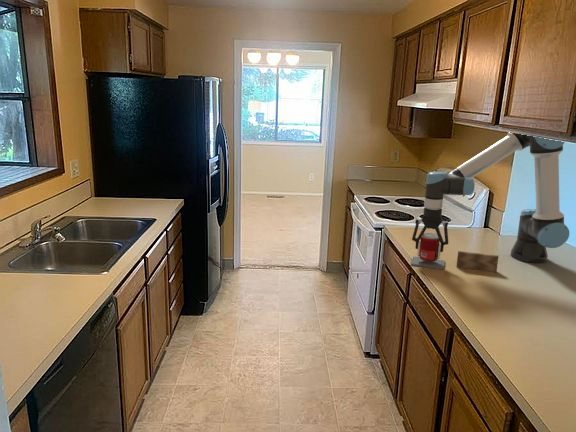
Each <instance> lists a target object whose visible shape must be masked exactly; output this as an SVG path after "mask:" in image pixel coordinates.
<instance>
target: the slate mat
mask: <svg viewBox="0 0 576 432" xmlns="http://www.w3.org/2000/svg"><path fill="white" fill-rule="evenodd" d="M445 263H446V260H442V259H439V260H438V259H437V260H436V261H424V260H422V259H420V257H417V256H413V257H412V260H411V261H410V266H414V267H421V268H429V269H437V270H444V269H445Z"/></svg>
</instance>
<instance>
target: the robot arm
mask: <svg viewBox="0 0 576 432" xmlns="http://www.w3.org/2000/svg"><path fill="white" fill-rule="evenodd" d="M506 134H507V135H506V136H505V137H503V138H502V139H500V140H498V141H497V142H495V143H494V144H492V145H490V146H489V147H488V148H486V149H485V150H483V151H481V152H480V153H478V154H477V155H475V156H473V157H472V158H470V159H469V160H467V161H465V162H463V164H461V165H459V166H458V167H455V168H454V169H453V170H451V171H446V172H443V171H429V172H428V173H427V175H426V179H425V180H426V182H425V194H424V195H425V196H424V201H423V203H424V204H423V207H424V208H423V212H422V213H423V215H422V218H416V219H415V227H414V231H413V233H412V236H411V237H412V238H411V241H413V242H415V250H417V253H416V254H417V255H416V257H419V253H420V241H421V236H422V235H423V234H424V233H426V230H428V229H430V230H431V229H432V230H435V232H436V234H437V235H438V237H439V241H440V242H439V250H438V259H437V260H441V253H443V252H444V246H445V245H449V235H448V234H449V231H448V226H449V221H447V220H446V221H445V220H442V212H443V209H442V208H443V203H444V196H451V195H452V196H471V195H472V194H473V193H474V192H475V186H476V185H475V180H474V178H475V177H476V176H478V175H479V174H480V173H482V172H484V171H486V170H487V169H488V168H491V167H492V166H494V165H496V164H497V163H498V162H500V161H502V160H504V159H505V158H507V157H509V156H510V155H512V154H513V153H514V152H516V151H523V150H524V149H526V148H528V147H529V154H530V155H532V156H533V157H534V184H535V187H534V190H535V209H534V208H533V209H532V208H527V209H522V210H520V211H521V212H520V215H519V221H518V222H519V223H518V230H517V237H516V241H515V243H514V245H513V246H512V249H511V251H510V257H512V258H513V259H515V260H517V261H522V262H526V263H532V264H533V263H534V264H541V263H546V262H548V257H549V256H548V250H547V248H548V249H557V248H560V247H562V246H563V245H564V244H565V243H567V241H568V239H569V238H570V229H569V227H568V226H567V225H566V224H565V214H564V213H563V212H562V211H561V210H560V167H559V166H560V165H559V164H560V161H559V160H560V159H559V156H560V154H561V153H562V152H563V151H564V144H565V143H566V142H561V141H555V140H549V139H544V138H539V137H533V136H527V135H521V134H515V133H510V131H508V132H507V133H506ZM421 223H422V224H423V225H424V226H423V227H422V229H421V231H420V233H419V234H418V233H417V232H418V229H419V225H420V224H421ZM440 225H442V227H443V230H444V231H443V233H444V239H443V235H442V234H441V230H440V228H439V226H440ZM417 234H418V236H417ZM416 236H417V237H416Z"/></svg>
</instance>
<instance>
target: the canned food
mask: <svg viewBox="0 0 576 432" xmlns="http://www.w3.org/2000/svg"><path fill="white" fill-rule="evenodd" d="M419 241H420V253H419V257H420V259H422V260H424V261H436V260H438V250H439V244H440V241H439V237H438V235H437V233H432V232H424V234H423V235H422V236H421V239H420V240H419Z"/></svg>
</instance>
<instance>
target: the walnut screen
mask: <svg viewBox="0 0 576 432" xmlns="http://www.w3.org/2000/svg"><path fill="white" fill-rule="evenodd" d="M498 263H499V255H495V254H489V253H480V252H472V251H462V250H457V258H456V268H463V269H470V270H476V269H477V270H478V271H485V272H492V273H497V270H498V265H499V264H498Z"/></svg>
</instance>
